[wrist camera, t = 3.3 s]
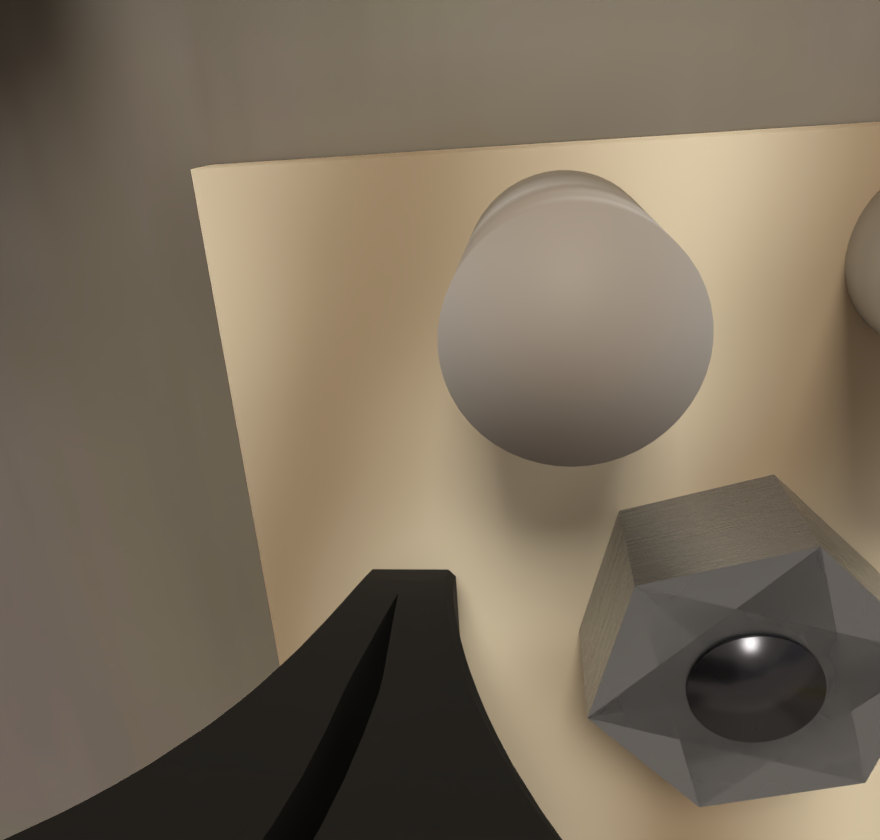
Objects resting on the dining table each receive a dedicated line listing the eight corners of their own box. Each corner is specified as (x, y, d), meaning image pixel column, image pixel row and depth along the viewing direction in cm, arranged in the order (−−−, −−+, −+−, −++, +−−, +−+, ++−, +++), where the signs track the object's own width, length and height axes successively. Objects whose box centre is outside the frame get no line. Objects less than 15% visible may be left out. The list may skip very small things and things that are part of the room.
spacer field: (1475, 83, 9) (2164, 72, 5) (1151, 888, 15) (1380, 1180, 11) (213, 165, 11) (43, 200, 7) (327, 847, 17) (265, 1079, 13)
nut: (857, 454, 11) (924, 527, 9) (892, 671, 12) (956, 773, 11) (545, 527, 12) (548, 606, 10) (609, 720, 14) (622, 822, 12)
